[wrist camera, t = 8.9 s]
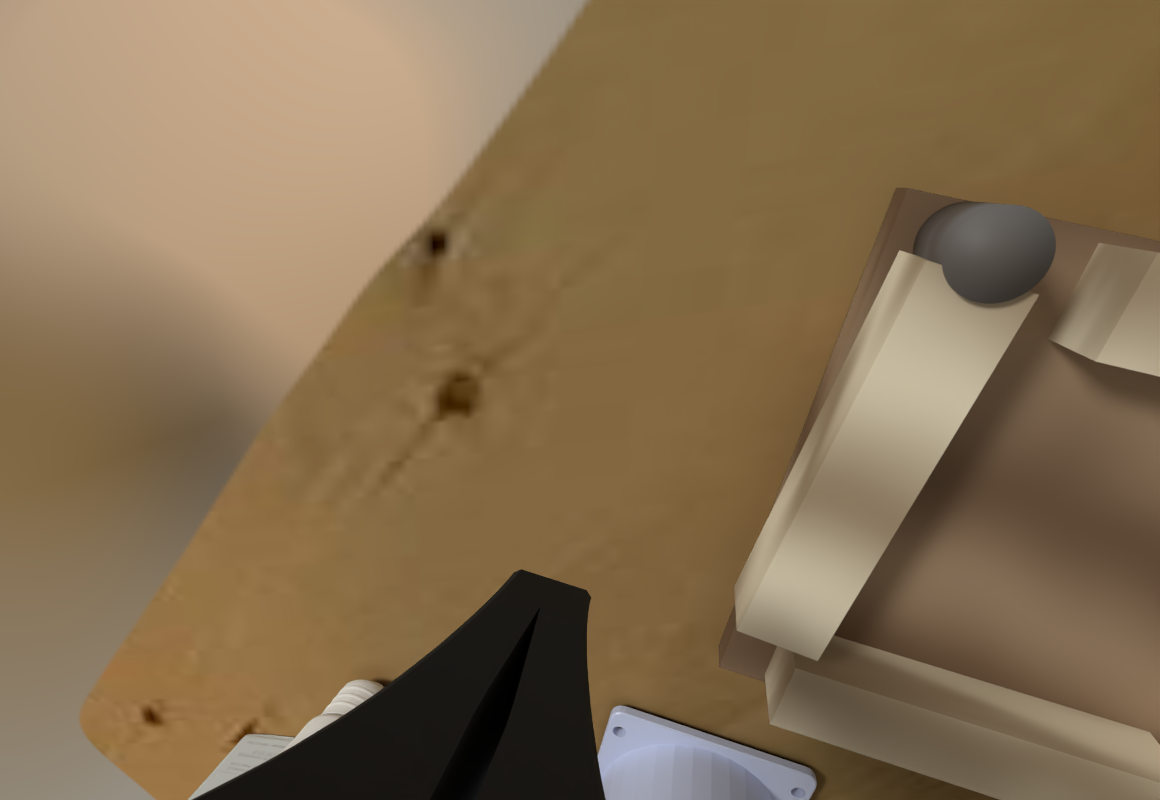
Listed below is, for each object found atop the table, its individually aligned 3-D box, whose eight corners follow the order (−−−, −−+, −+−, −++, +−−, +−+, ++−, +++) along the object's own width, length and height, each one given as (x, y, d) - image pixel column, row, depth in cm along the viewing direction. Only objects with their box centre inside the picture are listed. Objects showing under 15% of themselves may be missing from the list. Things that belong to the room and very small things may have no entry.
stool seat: (1196, 796, 19) (1276, 899, 17) (718, 646, 21) (719, 715, 18) (1623, 340, 13) (1863, 383, 10) (896, 188, 15) (937, 189, 12)
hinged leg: (929, 188, 14) (966, 189, 12) (1032, 218, 14) (1087, 225, 12) (734, 586, 19) (736, 635, 17) (807, 613, 19) (818, 666, 16)
